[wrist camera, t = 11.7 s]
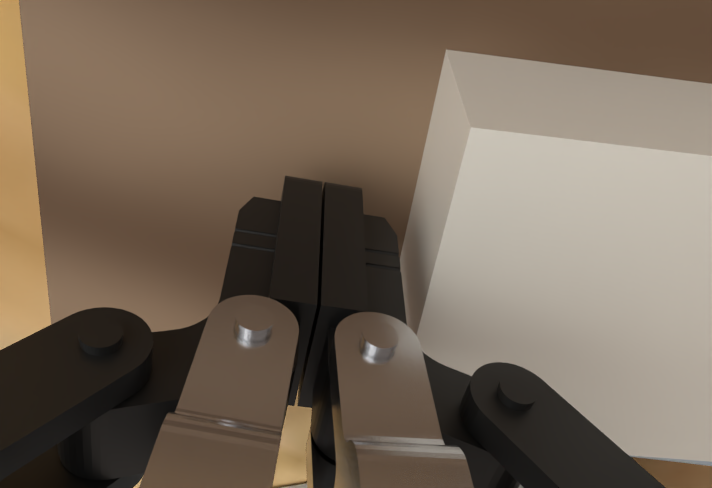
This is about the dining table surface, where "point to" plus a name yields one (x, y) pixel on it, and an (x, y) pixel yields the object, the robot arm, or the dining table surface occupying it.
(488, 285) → the cream tile
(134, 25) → the walnut plate
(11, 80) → the dining table surface
